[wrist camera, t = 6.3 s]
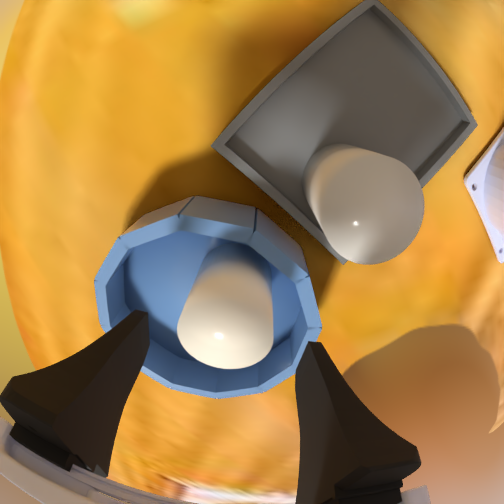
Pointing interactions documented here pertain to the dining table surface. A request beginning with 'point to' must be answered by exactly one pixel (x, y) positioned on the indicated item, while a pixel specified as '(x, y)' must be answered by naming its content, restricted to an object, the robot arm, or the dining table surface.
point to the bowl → (180, 283)
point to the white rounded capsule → (229, 309)
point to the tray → (348, 109)
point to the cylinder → (363, 202)
